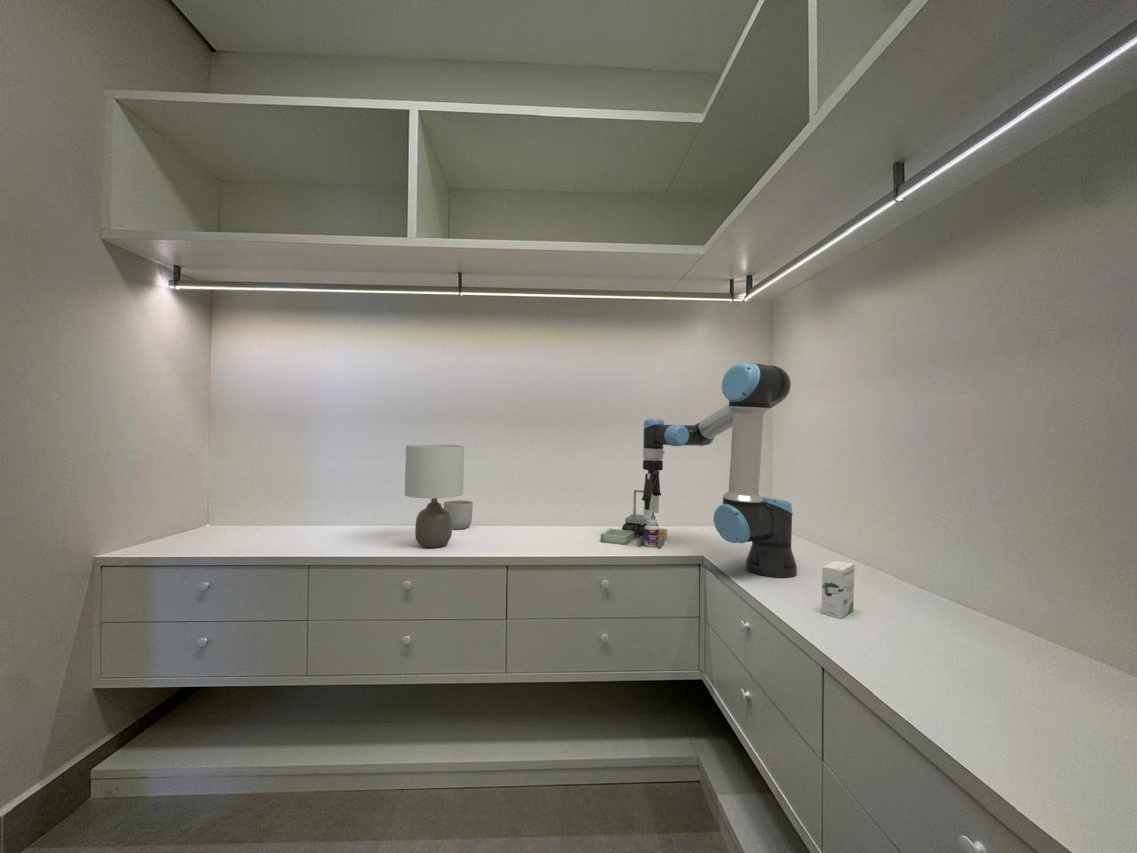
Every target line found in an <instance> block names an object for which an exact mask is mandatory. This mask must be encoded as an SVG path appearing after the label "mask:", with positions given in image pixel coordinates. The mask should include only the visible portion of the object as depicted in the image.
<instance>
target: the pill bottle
mask: <svg viewBox="0 0 1137 853" xmlns="http://www.w3.org/2000/svg"><path fill="white" fill-rule="evenodd" d="M646 524H647V525H646V526H645V528H644V544H643V545H644V546H645V547H649V548H656V547H657V548H658V539H659V528H660V527H659V525H658V526H656V525H657V524H658V520H657V519H655V520H653V519H648V520H647V521H646Z"/></svg>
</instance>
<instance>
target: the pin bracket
mask: <svg viewBox="0 0 1137 853" xmlns="http://www.w3.org/2000/svg"><path fill="white" fill-rule="evenodd" d="M643 545H644V535H642V536H640V537H638V538H637V547H639V548H640V547H642V546H643ZM664 546H665V541H664V537H661V538H660V539H659V540H658V546H657V549H659V550H661V549H662V548H663V547H664Z"/></svg>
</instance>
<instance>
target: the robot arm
mask: <svg viewBox="0 0 1137 853" xmlns="http://www.w3.org/2000/svg"><path fill="white" fill-rule="evenodd" d="M791 382H792V381H791V379H790V376H789V375H788V373H787V371H785V370H784V369H783V368H781V367H779V366H776V365H769V364H762V363H755V362H738V363H736V364H733V365H732V366H730V367H729V369H728V370H727V371H726V372H725V373H724V375H723V378H722V381H721V391H722V394H723V395H724V397H725V399H727V401H728V403H727V404H726V405H724V406H723V407H721V408H719V409H718V410H717V411H714V412H713V413H711V414H710V415H709V416H707V417H705V418H704V419H702V420H700V421H699V422H697V423H696V424H693V425H690V424H689V425H688V424H665V421H664V419H661V418H655V419H654V418H646V419H645V420H644V424H643V429H642V430H643V448H642V458H643V460H642V469H643V470H645V471H647V473H645V477H644V487H643V491H644V493H642V494H643V495H642V498H641V501H643V515H644V518H648V519H651V516H652V512H654V514H658V513H659V511H660V510H659V508H660V504H659V503H660V497H661V496H662V492H661V485H660V483H661V482H660V471H663V469H664V468H663V467H664V465H663V464H664V461H663V459H664V454H665V453H666V452H665V451H664V446H671V447H681V446H694V447H695V446H697V447H702V446H703V447H704V446H709V445H711V444H712V443H713V441H714V440H715V437H717V436H719V435H721V434H722V433H724V432H726V431H727V430H729V429H731V428H732V431H731V432H732V433H731V447H730V463H729V464H730V465H729V479H728V480H729V482H728V491H726V492H725V493H724V494H723V495H722V504H721V505H719V506H717V507H716V509H715V510H714V513H713V523H714V528H715V530H716V532H718V534H719V536H720V537H721V538H722V539H723V540H724V541H726V542H728V543H731V544H745V543H750V542H751V546H750V549H749V552H748V554H747V557H746V560H745V570H747V571H748V572H750V573H753V574H755V575H760V576H764V577H771V578H791V577H795V576H797V574H798V566H797V563H796V560H795V557H794V553H793V551H792V550H793V549H792V532H793V529H792V527H793V526H792V525H793V515H794V514H793V506H792V505H793V504H792V503H791V502H790V501H789V500H784V499H776V498H771V497H770V498H769V497H762V496H761V495H760V494H759V490H760V478H761V476H760V474H761V463H762V462H761V460H762V445H763V444H762V443H763V428H764V416H765V413H767V412H768V411H769V410H770V409H772V408H774V407H776V406H777V405H778V404H780V403H782V402H783V401H784V400H785V399H786V398H787V397H788V396H789V393H790V390H791V386H792V385H791V384H792V383H791ZM652 494H653V495H654V496H653V495H652Z"/></svg>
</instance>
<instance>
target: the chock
mask: <svg viewBox="0 0 1137 853" xmlns="http://www.w3.org/2000/svg"><path fill="white" fill-rule="evenodd" d="M667 536H668V528H660V527H659V539H660V538H661V537H664V542H665V541H666V540H667V539H668V537H667ZM659 539H658V540H659Z"/></svg>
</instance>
